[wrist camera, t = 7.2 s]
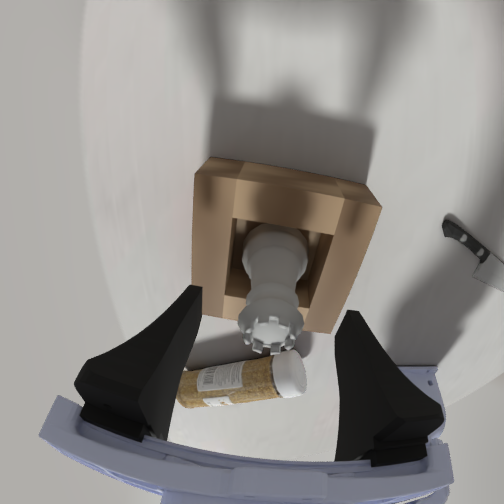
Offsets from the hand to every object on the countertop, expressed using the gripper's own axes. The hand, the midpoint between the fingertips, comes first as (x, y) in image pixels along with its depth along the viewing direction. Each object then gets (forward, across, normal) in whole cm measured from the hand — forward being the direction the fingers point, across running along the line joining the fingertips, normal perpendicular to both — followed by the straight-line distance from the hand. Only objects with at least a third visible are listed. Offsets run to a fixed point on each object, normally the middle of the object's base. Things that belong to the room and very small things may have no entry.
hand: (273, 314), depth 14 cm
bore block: (+7, 0, 0) cm, 7 cm away
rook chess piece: (+7, 0, 0) cm, 7 cm away
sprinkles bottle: (+5, +7, +20) cm, 21 cm away
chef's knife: (+8, -21, -1) cm, 22 cm away
